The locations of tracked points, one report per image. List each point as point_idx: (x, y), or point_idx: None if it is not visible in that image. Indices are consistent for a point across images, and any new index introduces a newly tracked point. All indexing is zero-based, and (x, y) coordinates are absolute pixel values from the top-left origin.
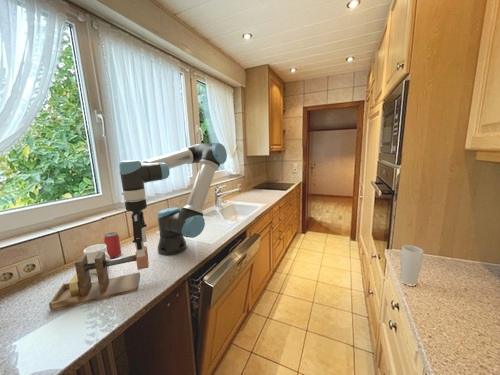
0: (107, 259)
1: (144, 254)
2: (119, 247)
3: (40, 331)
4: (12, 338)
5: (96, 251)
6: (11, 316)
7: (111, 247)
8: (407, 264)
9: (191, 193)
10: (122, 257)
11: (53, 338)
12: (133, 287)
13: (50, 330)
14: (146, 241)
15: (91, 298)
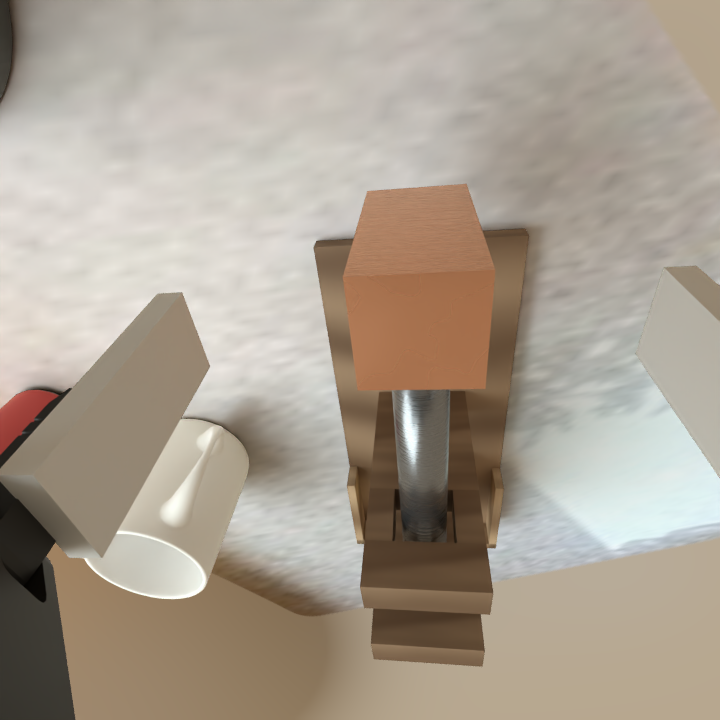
0: (174, 455)
1: (706, 281)
2: (9, 425)
3: (601, 513)
4: (584, 555)
5: (194, 557)
6: None
7: None
8: None
9: None
10: (419, 446)
11: (680, 477)
12: (507, 259)
13: (619, 494)
14: (180, 297)
15: (500, 432)
